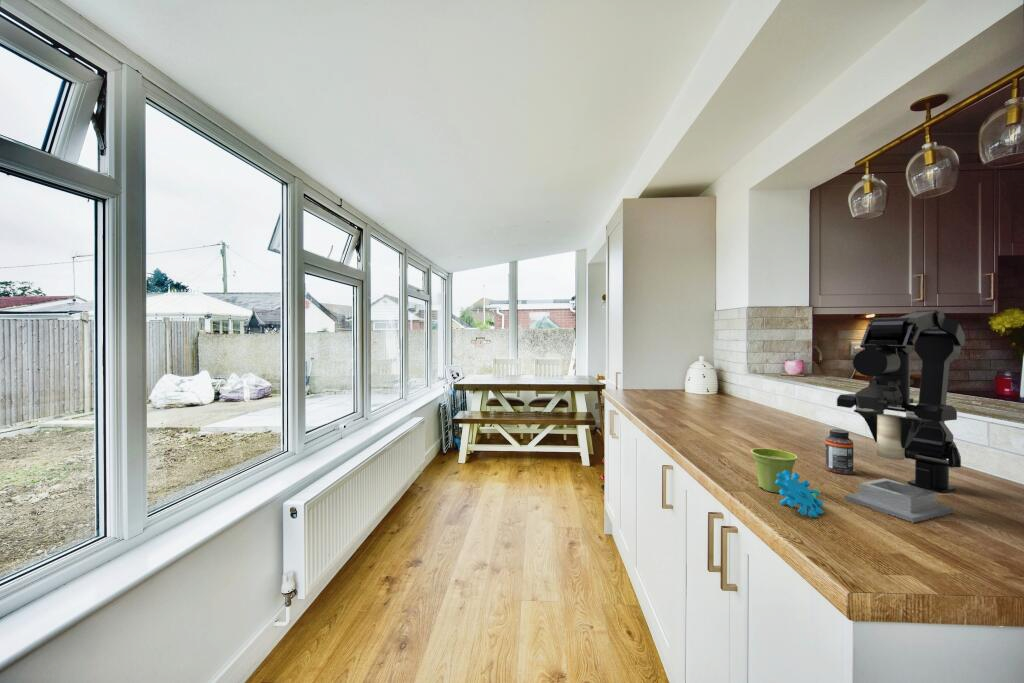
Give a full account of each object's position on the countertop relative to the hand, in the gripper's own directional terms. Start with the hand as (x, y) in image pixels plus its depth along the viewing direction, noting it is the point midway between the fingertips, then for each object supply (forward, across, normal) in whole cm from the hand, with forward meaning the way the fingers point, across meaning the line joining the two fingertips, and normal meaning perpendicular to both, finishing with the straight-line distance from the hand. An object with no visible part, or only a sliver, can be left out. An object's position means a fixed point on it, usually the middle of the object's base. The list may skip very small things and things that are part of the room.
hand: (890, 445), depth 87 cm
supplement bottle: (+13, -18, +13) cm, 26 cm away
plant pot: (+13, -15, -16) cm, 26 cm away
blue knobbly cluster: (+13, -4, -22) cm, 26 cm away
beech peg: (+2, 0, 0) cm, 3 cm away
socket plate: (+13, +1, 0) cm, 13 cm away
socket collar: (+12, +1, 0) cm, 12 cm away
